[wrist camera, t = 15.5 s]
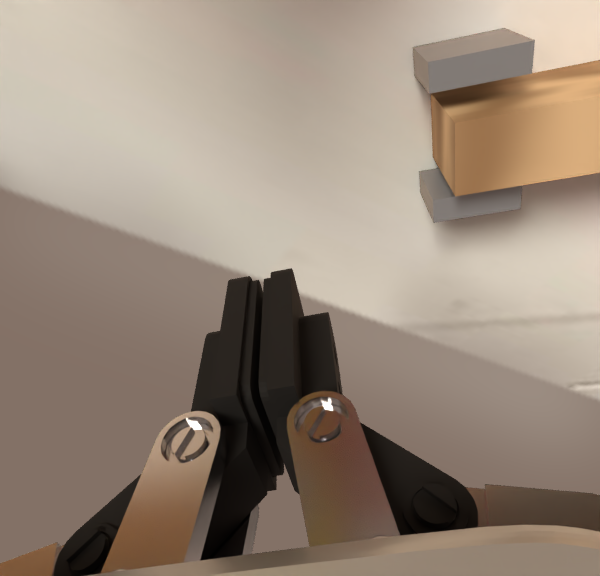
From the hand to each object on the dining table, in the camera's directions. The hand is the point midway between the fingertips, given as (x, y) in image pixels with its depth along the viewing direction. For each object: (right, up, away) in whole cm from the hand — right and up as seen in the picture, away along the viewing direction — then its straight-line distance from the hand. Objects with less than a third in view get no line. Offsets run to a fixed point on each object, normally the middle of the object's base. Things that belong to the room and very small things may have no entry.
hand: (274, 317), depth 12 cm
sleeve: (+8, +9, +10) cm, 16 cm away
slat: (+15, +10, +10) cm, 21 cm away
